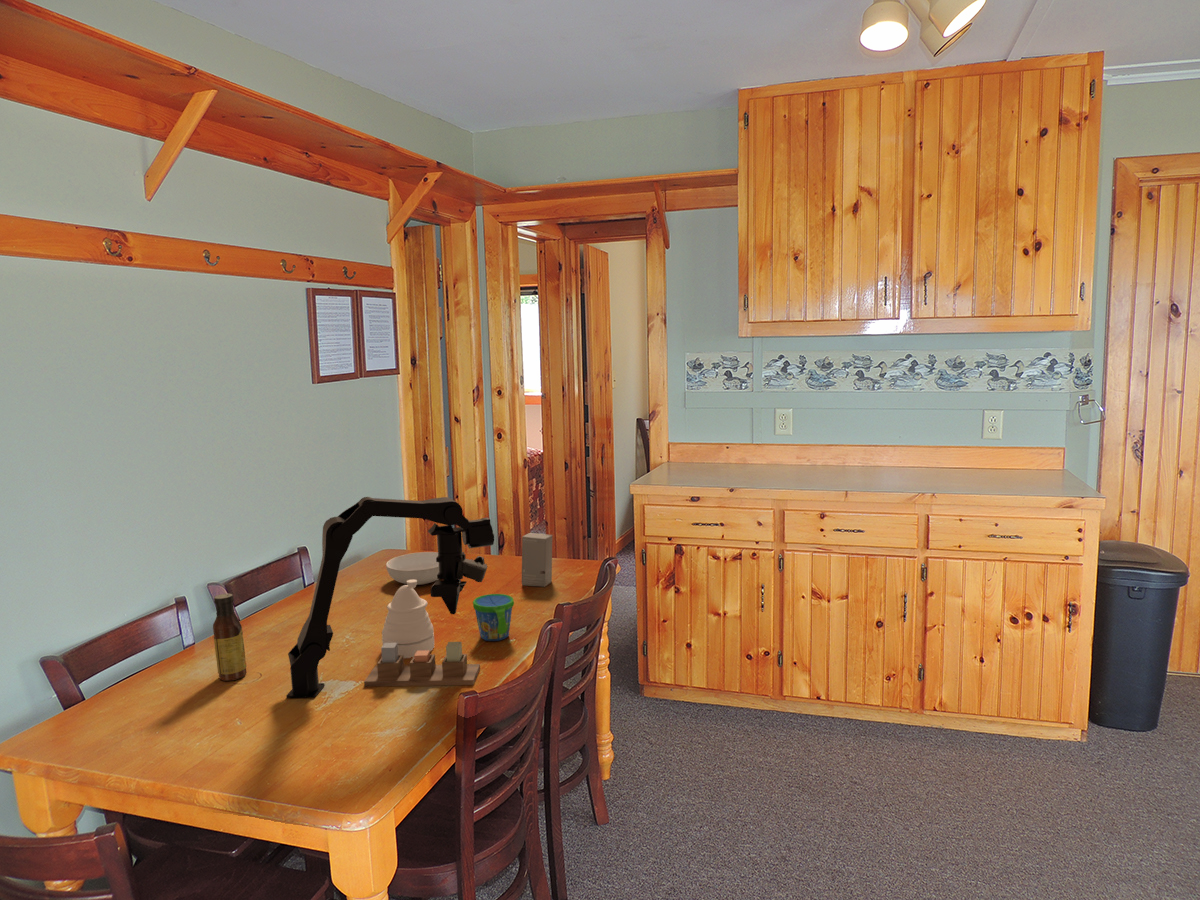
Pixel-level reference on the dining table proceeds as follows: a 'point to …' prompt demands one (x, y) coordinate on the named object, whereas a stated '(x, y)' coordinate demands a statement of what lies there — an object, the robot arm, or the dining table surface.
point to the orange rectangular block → (422, 656)
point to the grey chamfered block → (389, 652)
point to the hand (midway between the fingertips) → (453, 613)
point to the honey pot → (408, 622)
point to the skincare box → (536, 559)
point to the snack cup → (493, 616)
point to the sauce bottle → (228, 640)
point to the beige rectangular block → (454, 651)
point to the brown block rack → (423, 673)
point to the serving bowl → (414, 567)
